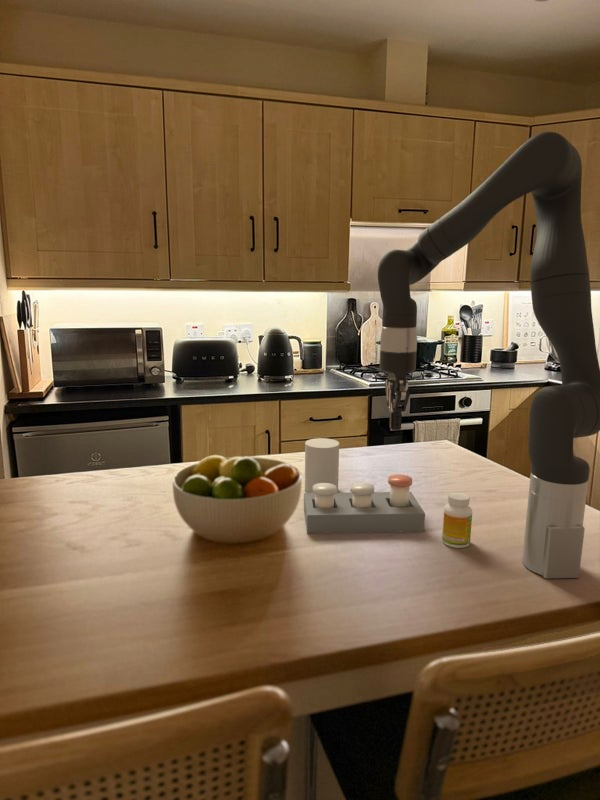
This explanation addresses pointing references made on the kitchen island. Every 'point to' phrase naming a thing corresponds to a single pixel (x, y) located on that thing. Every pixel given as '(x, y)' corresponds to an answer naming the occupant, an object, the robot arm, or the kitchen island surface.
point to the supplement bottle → (457, 521)
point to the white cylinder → (321, 462)
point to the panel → (363, 515)
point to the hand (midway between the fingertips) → (395, 428)
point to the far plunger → (324, 495)
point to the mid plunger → (362, 494)
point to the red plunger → (399, 490)
